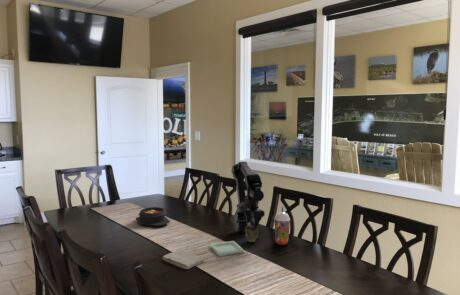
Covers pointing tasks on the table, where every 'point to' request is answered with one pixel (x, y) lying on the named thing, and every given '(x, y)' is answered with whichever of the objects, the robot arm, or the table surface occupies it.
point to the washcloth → (183, 259)
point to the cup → (251, 233)
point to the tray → (226, 248)
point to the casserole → (152, 216)
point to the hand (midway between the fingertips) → (251, 225)
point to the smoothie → (282, 228)
